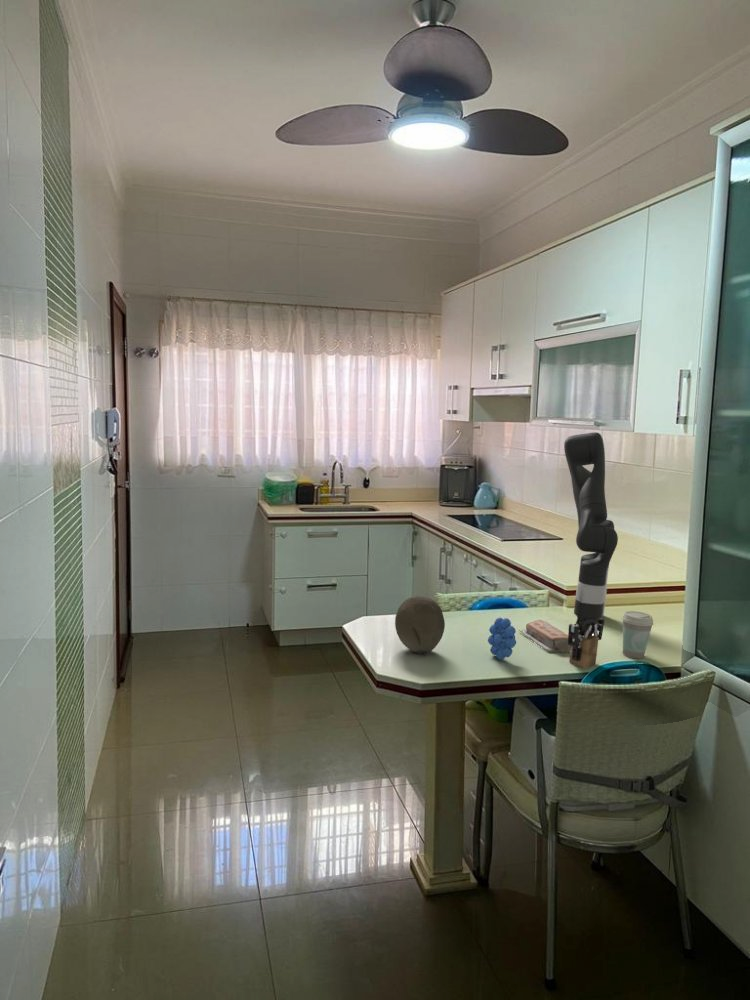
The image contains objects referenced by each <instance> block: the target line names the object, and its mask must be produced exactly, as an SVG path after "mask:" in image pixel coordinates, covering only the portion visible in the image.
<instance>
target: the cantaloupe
mask: <svg viewBox="0 0 750 1000" xmlns="http://www.w3.org/2000/svg"><path fill="white" fill-rule="evenodd" d="M394 618H395V620H394V621H395V623H394V627H395V631H396V634H397V636H398V640H400V642H401V643H402V645H404V647H406V648H407V649H408V650H409V651H411V652H413V653H417V654H426V653H429V652H432V651H433V650H434V649H435V648H436V647H437V646H438V644H439V643H440V642H441V640H442V637H443V635H444V632H445V626H446V624H445V623H446V622H445V617H444V614H443V611H442V609H441V607H440V605H439V603H438V602H437V601H436V600H434V598H433V599H432V598H430V597H425V596H419V595H417V596H412V597H408V598H407V599H405V600H403V602H402V603H401V604H400V605H399V607H398V608H397V611H396V615H395V617H394Z"/></svg>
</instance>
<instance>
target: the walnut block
mask: <svg viewBox="0 0 750 1000" xmlns="http://www.w3.org/2000/svg"><path fill="white" fill-rule="evenodd" d="M579 636H581V637H582V635H579ZM573 639H574V638H572V641H573ZM598 639H599V637H597V636H593V635H589V636H587V639H586V641H584V642H583V644H582V647H581V648H582V649H581V658H580V661H575V660H572V651H573V646H571V652H569V653H570V654H569V661H568V663H569V662H570V663H569V664H571V663H572V664H571V665H574V664H575V666H577V667H580V668H583V669H588V668H591V667H594V666H596V663H597V655H598V646H599V640H598ZM579 641H580V639H579V640H578V643H579Z"/></svg>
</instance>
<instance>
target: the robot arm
mask: <svg viewBox="0 0 750 1000" xmlns="http://www.w3.org/2000/svg"><path fill="white" fill-rule="evenodd" d="M564 455H565V458H566V459H565V460H566V463H567V466H568V469H569V470H568V471H569V474H570V478H571V484H572V493H573V498H574V503H575V507H576V515H577V522H578V523H577V525H578V529H577V534H576V538H575V539H576V540H575V542H576V546H577V548H578V549H579V550H580V551H582V552H585V553H586V554H583V555H582V556H581V558H580V563H579V564H580V565H579V571H578V581H577V586H576V589H575V590H576V592H575V600H574V609H573V614H574V615H575V616H576V621H575V623H574V624H573V623H569V624H568V634H567V635H568V645H571V646H573V651H572V660H575V661H580V658H581V649H582V648H581V647H582V644H583V642H584V641H586V639H587V636H589V635H593V636H597V637H599V639H598V641H601V640H602V638H603V632H604V626H605V618H603V617H604V616H605V608H606V602H607V601H606V600H607V592H608V587H607V586H608V574H609V569H610V568H609V567H610V563H611V559H612V557H613V555H614V552H615V551H616V548H617V545H618V540H619V537H618V533H617V531H616V530H615V524H614V521H612V519H611V520H610V519H607V518H608V509H607V500H606V493H605V491H606V490H605V487H606V486H605V484H606V483H605V482H606V481H605V480H606V456H605V455H606V452H605V444H604V439H603V437H602V434H601V433H599V432H596V431H595V432H587V433H580V434H579V433H578V434H573V435H569V436H568V437H566V438H565V441H564ZM590 465H593V467H592V470H591V471H590V470H589V469H587V468H585V467H584V466H590ZM579 635H582V637H581V636H579ZM572 638H574V639H573V641H572ZM579 639H580V641H579V643H578V640H579Z"/></svg>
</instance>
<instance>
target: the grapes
mask: <svg viewBox="0 0 750 1000" xmlns="http://www.w3.org/2000/svg"><path fill="white" fill-rule="evenodd" d="M488 630H489V633H490V635H489V636H488V639H487V642H488V644H489V645H490V646H491V647H490V649H489V651H490V653H491V654H492V655H494V656H495V657H496V659H497V660H499V659H500V661H503V660H504V659H506V658H510V657H511V655H512V654H513V648H515V646H516V645H517V641H516V628H515V626H513V625H512V621H511V620H510V619H509V618H508V617H506V618H505V617H504V618H502V617H497V618H496V619H495V621H494V623H493V624H491V625H490V627H489V629H488Z"/></svg>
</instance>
